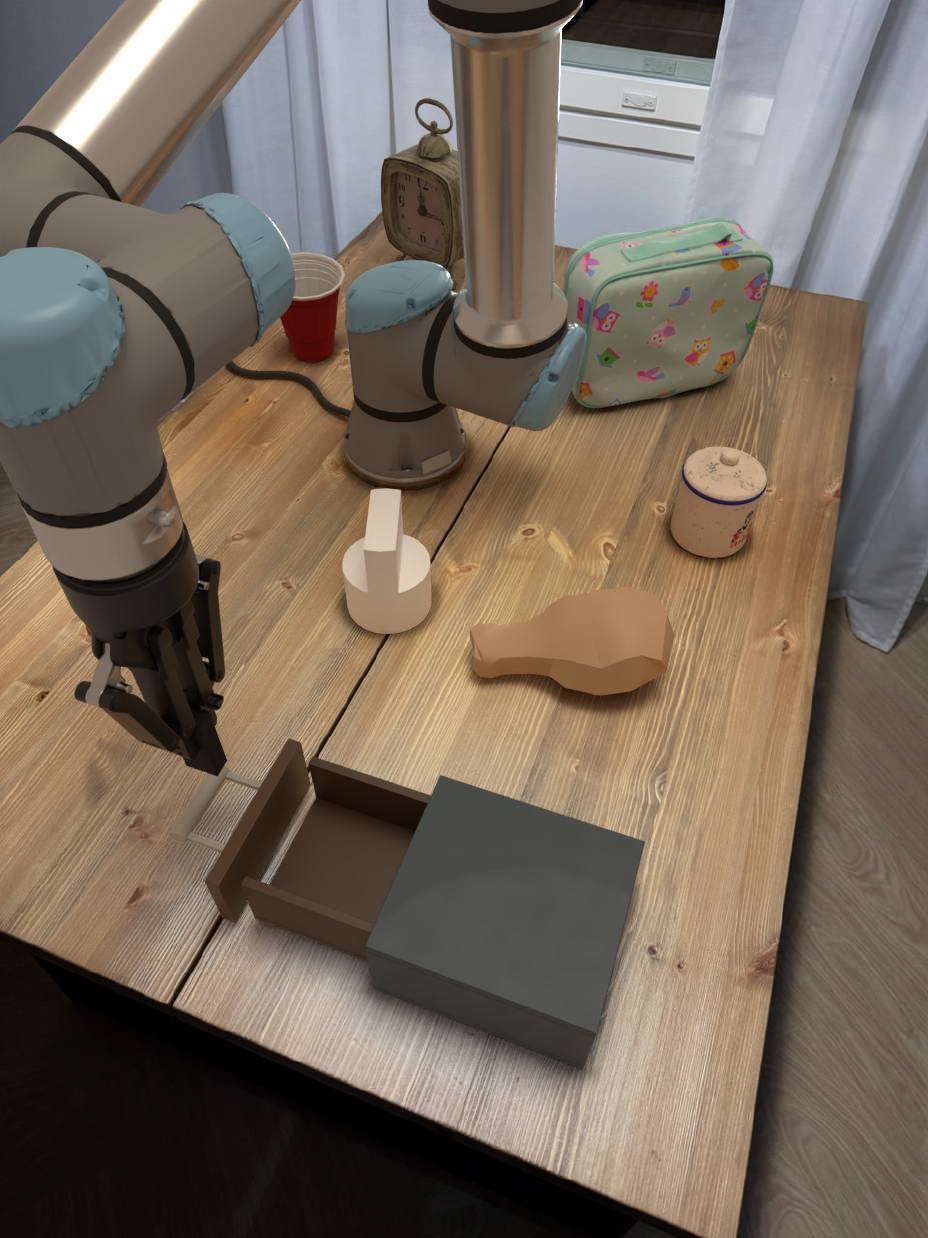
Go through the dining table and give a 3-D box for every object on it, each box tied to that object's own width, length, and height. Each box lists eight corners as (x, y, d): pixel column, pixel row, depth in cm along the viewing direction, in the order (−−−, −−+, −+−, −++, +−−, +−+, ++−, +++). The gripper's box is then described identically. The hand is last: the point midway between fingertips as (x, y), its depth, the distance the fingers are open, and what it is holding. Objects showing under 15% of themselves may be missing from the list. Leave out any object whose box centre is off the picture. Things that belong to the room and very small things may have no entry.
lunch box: (712, 344, 129) (750, 193, 113) (751, 382, 123) (797, 229, 106) (544, 379, 123) (558, 226, 106) (576, 422, 116) (596, 266, 100)
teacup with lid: (743, 568, 99) (771, 488, 90) (661, 550, 101) (681, 470, 92) (753, 500, 107) (780, 420, 98) (677, 484, 108) (697, 404, 100)
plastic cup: (290, 381, 122) (278, 300, 113) (264, 342, 128) (250, 262, 119) (364, 361, 125) (357, 280, 116) (335, 324, 131) (326, 245, 122)
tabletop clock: (384, 266, 143) (374, 94, 124) (422, 246, 147) (418, 77, 129) (453, 297, 137) (453, 121, 118) (490, 274, 141) (496, 102, 123)
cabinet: (372, 989, 69) (364, 946, 62) (441, 826, 78) (440, 774, 71) (582, 1070, 65) (596, 1033, 59) (628, 890, 74) (645, 841, 68)
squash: (679, 708, 87) (688, 664, 79) (475, 721, 89) (465, 680, 81) (664, 613, 92) (671, 564, 85) (473, 628, 94) (463, 581, 87)
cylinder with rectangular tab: (429, 634, 92) (427, 552, 83) (343, 633, 92) (331, 550, 83) (433, 572, 98) (431, 489, 89) (351, 570, 98) (341, 487, 89)
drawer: (159, 894, 73) (137, 856, 67) (241, 761, 81) (227, 717, 76) (401, 987, 68) (396, 953, 63) (462, 835, 76) (462, 794, 71)
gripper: (106, 641, 45) (205, 853, 63) (235, 483, 53) (290, 711, 71) (-16, 603, 47) (114, 820, 64) (127, 455, 55) (207, 684, 73)
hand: (206, 763), depth 68 cm, fingers closed
